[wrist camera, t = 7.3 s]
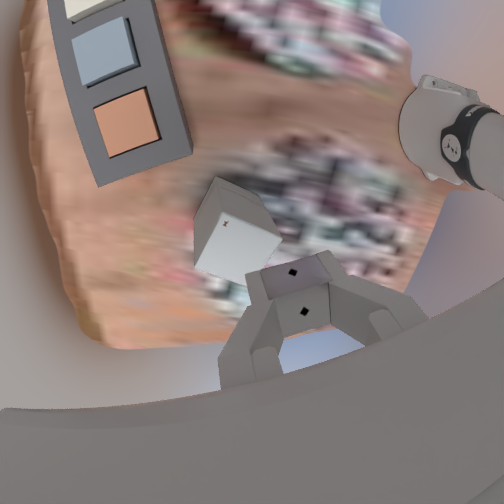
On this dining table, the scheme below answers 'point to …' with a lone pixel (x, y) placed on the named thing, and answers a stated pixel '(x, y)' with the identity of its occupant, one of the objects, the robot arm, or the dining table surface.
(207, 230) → the supplement box
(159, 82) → the key console
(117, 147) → the terracotta key
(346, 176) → the dining table surface
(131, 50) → the slate key
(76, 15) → the cream key
